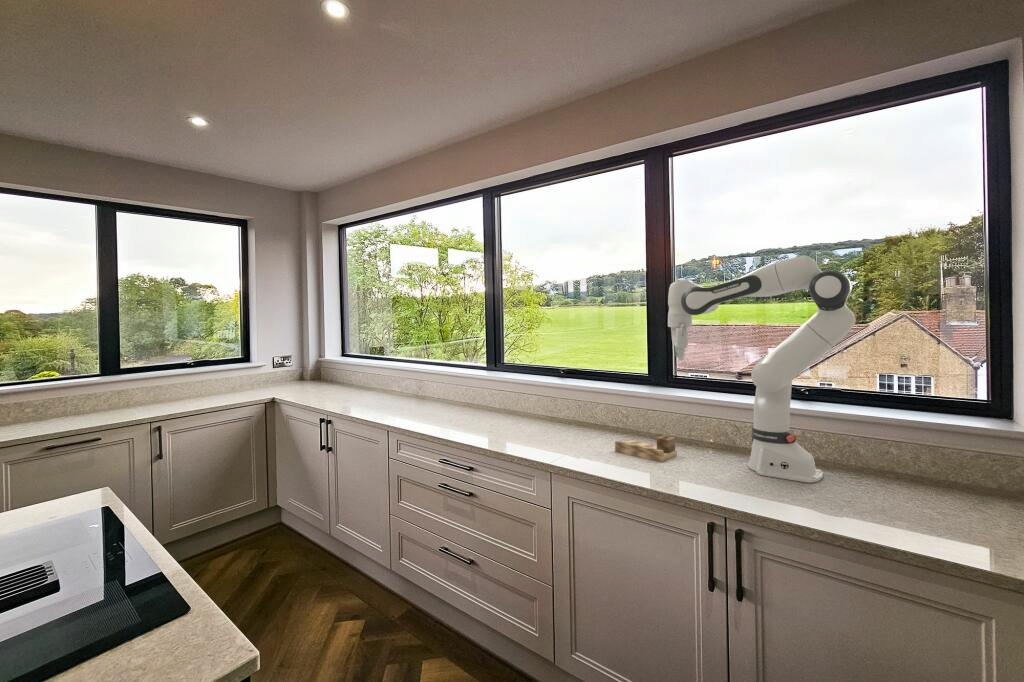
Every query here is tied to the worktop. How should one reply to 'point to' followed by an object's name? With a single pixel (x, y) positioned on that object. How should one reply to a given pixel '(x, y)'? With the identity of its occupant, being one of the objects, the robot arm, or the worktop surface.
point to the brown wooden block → (666, 443)
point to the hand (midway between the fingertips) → (679, 358)
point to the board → (643, 450)
